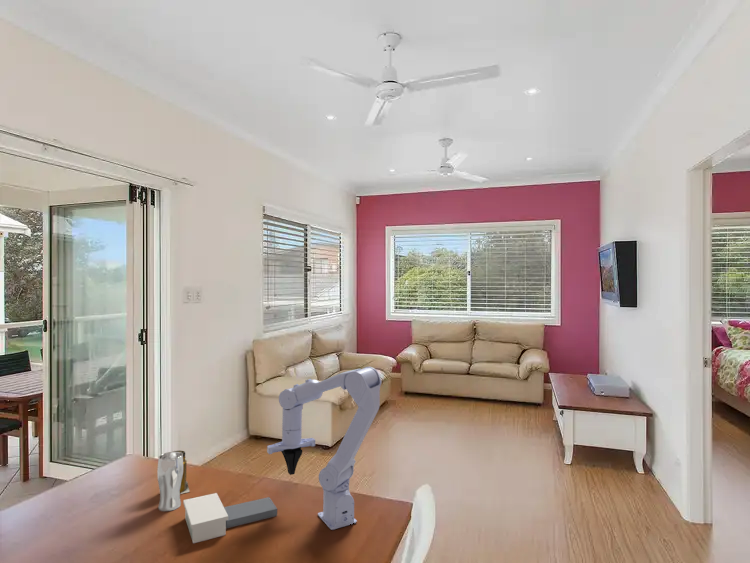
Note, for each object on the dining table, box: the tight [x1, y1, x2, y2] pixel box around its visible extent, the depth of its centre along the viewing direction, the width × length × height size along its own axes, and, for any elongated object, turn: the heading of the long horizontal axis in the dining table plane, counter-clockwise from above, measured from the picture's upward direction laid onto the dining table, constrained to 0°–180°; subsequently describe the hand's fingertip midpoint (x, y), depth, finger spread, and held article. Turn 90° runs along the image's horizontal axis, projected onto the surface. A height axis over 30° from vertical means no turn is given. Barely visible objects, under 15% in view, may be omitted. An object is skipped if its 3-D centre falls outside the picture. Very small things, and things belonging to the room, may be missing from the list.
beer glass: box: [156, 451, 183, 512], centre depth 131 cm, size 7×7×15 cm
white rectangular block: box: [182, 492, 228, 544], centre depth 120 cm, size 15×9×5 cm, turn 31°
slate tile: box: [224, 496, 278, 529], centre depth 126 cm, size 8×14×2 cm, turn 120°
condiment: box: [172, 450, 190, 495], centre depth 142 cm, size 7×8×12 cm
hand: (291, 473), depth 133 cm, fingers closed
